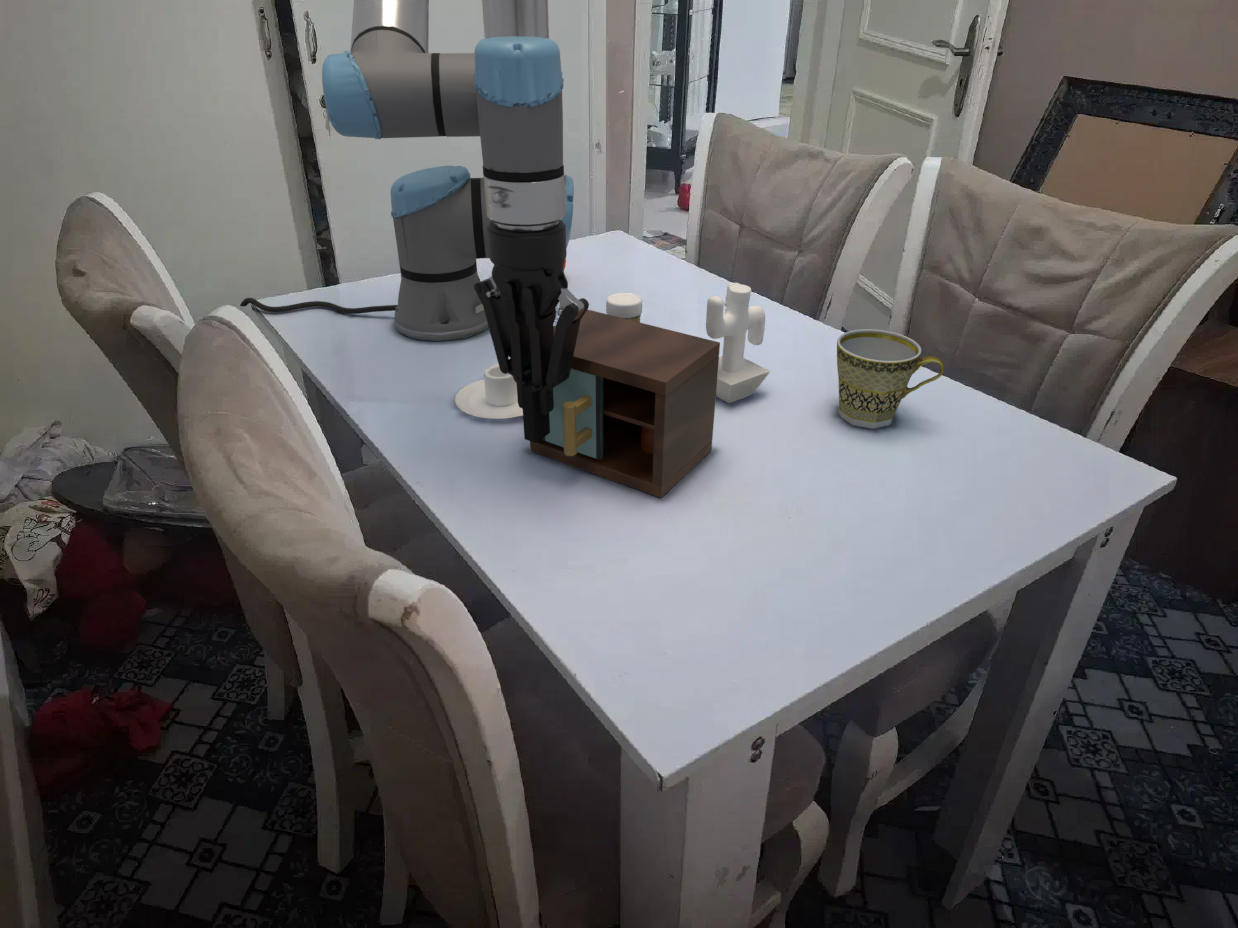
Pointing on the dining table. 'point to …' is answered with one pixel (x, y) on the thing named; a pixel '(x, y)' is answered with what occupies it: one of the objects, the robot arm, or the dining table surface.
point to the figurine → (736, 342)
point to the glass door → (578, 415)
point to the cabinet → (645, 401)
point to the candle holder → (490, 396)
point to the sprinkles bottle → (624, 306)
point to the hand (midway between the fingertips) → (537, 435)
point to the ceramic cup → (876, 375)
